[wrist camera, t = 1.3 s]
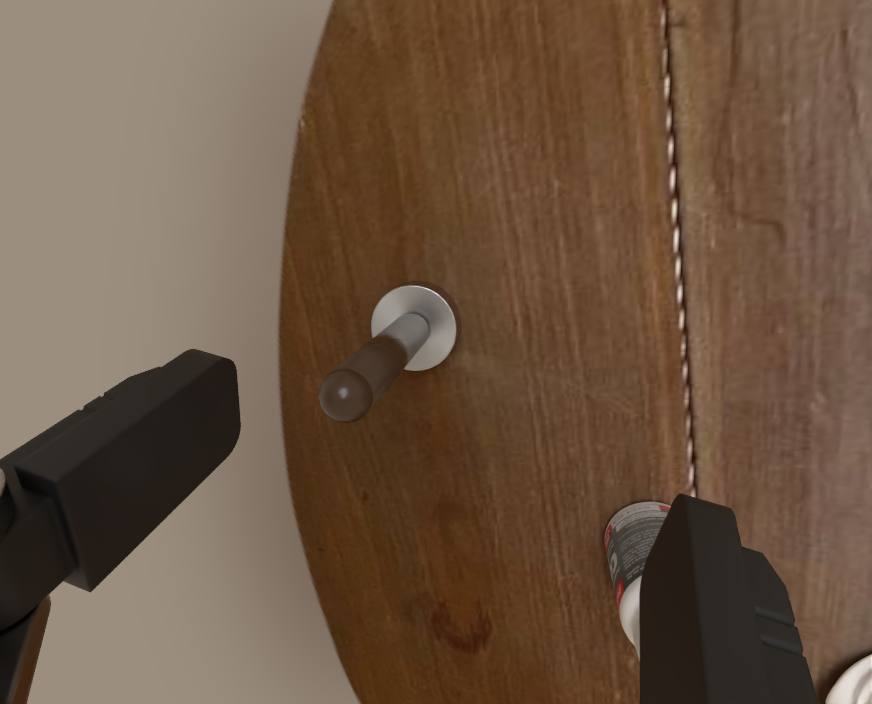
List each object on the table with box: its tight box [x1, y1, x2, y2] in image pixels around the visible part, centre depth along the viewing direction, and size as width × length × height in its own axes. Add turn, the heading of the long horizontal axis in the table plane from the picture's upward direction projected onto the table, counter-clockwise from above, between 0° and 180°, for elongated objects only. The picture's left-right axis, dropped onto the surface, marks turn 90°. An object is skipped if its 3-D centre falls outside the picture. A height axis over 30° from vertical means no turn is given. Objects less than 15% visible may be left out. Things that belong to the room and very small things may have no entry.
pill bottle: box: [605, 502, 671, 662], centre depth 26 cm, size 5×5×8 cm
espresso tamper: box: [318, 281, 460, 423], centre depth 23 cm, size 4×4×13 cm
